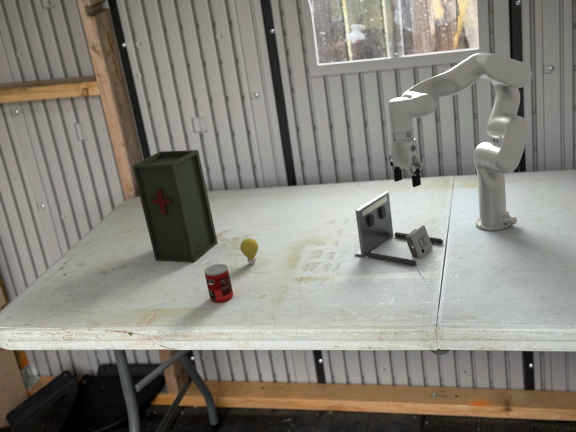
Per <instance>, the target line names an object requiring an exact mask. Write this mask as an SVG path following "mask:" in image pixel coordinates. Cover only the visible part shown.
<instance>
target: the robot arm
mask: <svg viewBox="0 0 576 432" xmlns="http://www.w3.org/2000/svg"><path fill="white" fill-rule="evenodd" d="M532 73H533V72H532V68H531V67H530V65H528V64H527V63H526V62H523V61H520V60H517V59H515V58H510V57H508V56H504V55H501V54H497V53H490V52H476V53H474V54H472V55H470V56H468V57H467V58H466V59H464V60H463V61H461V62H460V63H458V64H457V65H455V66H453V67H451V68H450V69H448V70H446V71H445V72H443V73H440V74H437V75H435V76H432V77H430V78H427V79H425V80H422V81H419V82H418V83H417V84H415V85H413V86H411V87H410V88H409V89H407V90H406V91H405V92H403V94H402V95H401V96H400V97H394V98H392V99H390V100H388V103H387V107H388V110H387V111H388V116H389V129H390V136H391V144H390V146H391V147H390V149H391V150H390V151H391V154H390V155H388V161H389V164H390V166H391V170H392V171H393V180H394V182H395V183H396V182H399V181H402V180H403V179H404V178H403V171H402V169H404V170H409V172H410V173H411V174H412V175H411V183H412V184H411V185H412V187H413V188H416V187H419V186H421V185H422V181H421V175H422V172H423V168H424V163H423V162H422V161H421V158H420V157H421V156H420V150H419V145H418V142H417V139H416V138H415V131H414V130H415V129H414V120H413V119H414V118H415V119H417V118H426V117H428V116H430V115H432V114H433V113H435V111H436V108H437V101H436V99H438V98H442V97H451V96H455V95H458V94H461V93H462V92H464V91H465V90H467V89H468V88H470V87H471V86H472V85H474V84H476V83H477V82H479V81H480V80H483V79H484V80H490V82H491V84H492V86H493V87H494V88H493V89H494V92H495V98H494V102H493V105H492V106H493V107H492V109H491V112H490V116H489V118H488V121H487V125H486V134H487V135H488V137H491V138H492V139H495V140H499V141H502V142H501V143H497V142H493V141H483V142H481V143H479V144H477V146H476V147H475V148H474V151H473V162H474V163H473V164H474V167H475V170H476V176H477V190H478V191H477V192H478V206H479V207H478V208H479V209H478V210H479V218H478V219H477V220H476V221H475V226H476V227H477V228H478V229H480V230H484V231H501V230H505V229H507V228H509V227H510V226H511V225H517V223H518V219H517V217H516V216H514V215H513V216H511V215H510V211H507V196H506V177H505V175H507V174H511V173H513V172H514V171H515V170H516V169H517V168H518V166H519V164H520V162H521V159H522V157H523V153H524V151H525V148H526V144H527V141H528V138H529V136H530V125H529V122H528V121H527V119H526V118H524V117H523V116H520V115H518V111H519V107H520V103H521V92H520V90H519V89H520V88H523V87H526V86H527V85H528V84H529V83H530V82H531V81H532V80H531V79H532V77H533V76H532V75H533V74H532Z"/></svg>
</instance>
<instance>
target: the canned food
mask: <svg viewBox="0 0 576 432" xmlns="http://www.w3.org/2000/svg"><path fill="white" fill-rule="evenodd" d="M203 272H204V277H205V280H206V282H205V283H206V286H207V290H208V295H209V298H210V301H211V302H213V303H215V304H216V303H217V304H219V303H226V302H228V301H230V300H231V299H232V298H233V296H234V291H233V286H232V281H231V275H230V271H229V267H228V265H226V264H224V263H217V264H212V265H210V266H207V267H206V268H205V269H204V271H203Z"/></svg>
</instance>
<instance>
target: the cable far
mask: <svg viewBox="0 0 576 432" xmlns="http://www.w3.org/2000/svg"><path fill="white" fill-rule="evenodd" d="M408 234H409V233H407V232H406V233H404V232H398V231H396V232H395V233H393V237H394V238H398V239H404V240H406V239H405V237H406V236H407V235H408ZM429 239H430V241H431V244H435V245H436V244H437V245H442V244H443V243H444V240H443V239H442V238H438V237H432V236H429Z"/></svg>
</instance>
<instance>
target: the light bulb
mask: <svg viewBox="0 0 576 432" xmlns="http://www.w3.org/2000/svg"><path fill="white" fill-rule="evenodd" d="M239 247H240V252H241V253H242V254H243V255H244V256H245V257H246V258H247V261H246V262H247V263H249V266H254V265H255V264H256V261H257V257H256V255H257V253H258V249H259V244H258V242H257V240H255V239H254V238H251V237H250V238H245V239H243V241H242V242H241V243H240V245H239Z"/></svg>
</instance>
